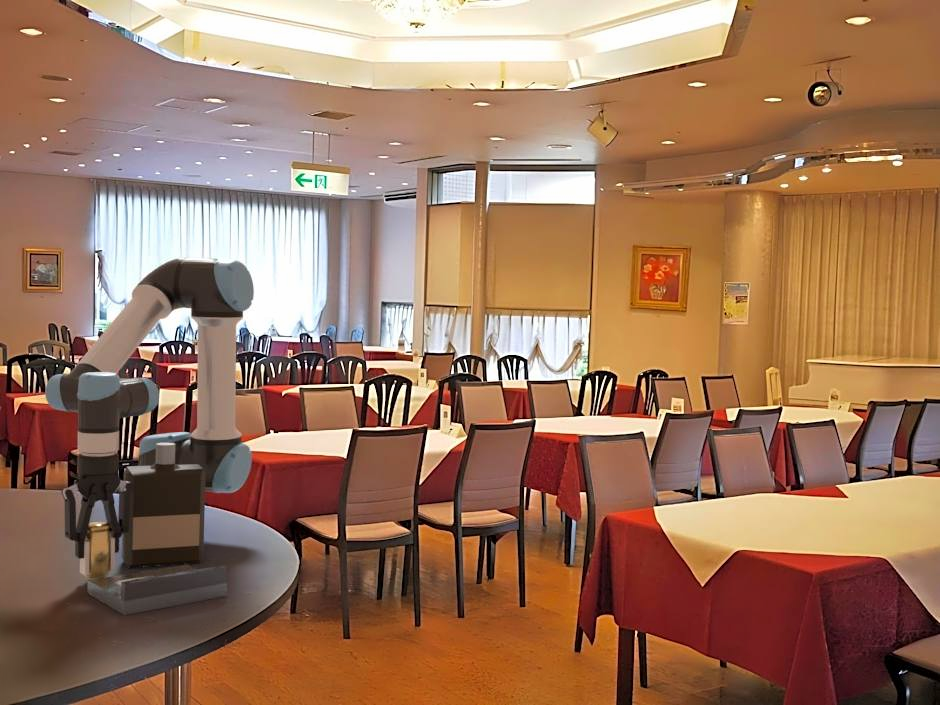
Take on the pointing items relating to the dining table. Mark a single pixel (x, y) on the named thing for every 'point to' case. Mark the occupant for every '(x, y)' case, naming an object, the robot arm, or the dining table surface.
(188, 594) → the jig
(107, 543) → the gold cylinder
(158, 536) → the brown box
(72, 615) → the dining table surface
